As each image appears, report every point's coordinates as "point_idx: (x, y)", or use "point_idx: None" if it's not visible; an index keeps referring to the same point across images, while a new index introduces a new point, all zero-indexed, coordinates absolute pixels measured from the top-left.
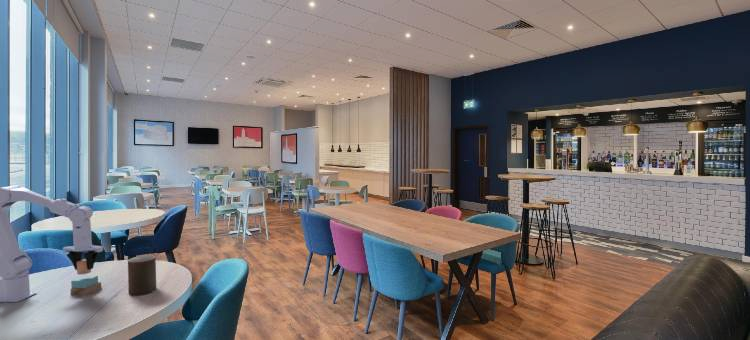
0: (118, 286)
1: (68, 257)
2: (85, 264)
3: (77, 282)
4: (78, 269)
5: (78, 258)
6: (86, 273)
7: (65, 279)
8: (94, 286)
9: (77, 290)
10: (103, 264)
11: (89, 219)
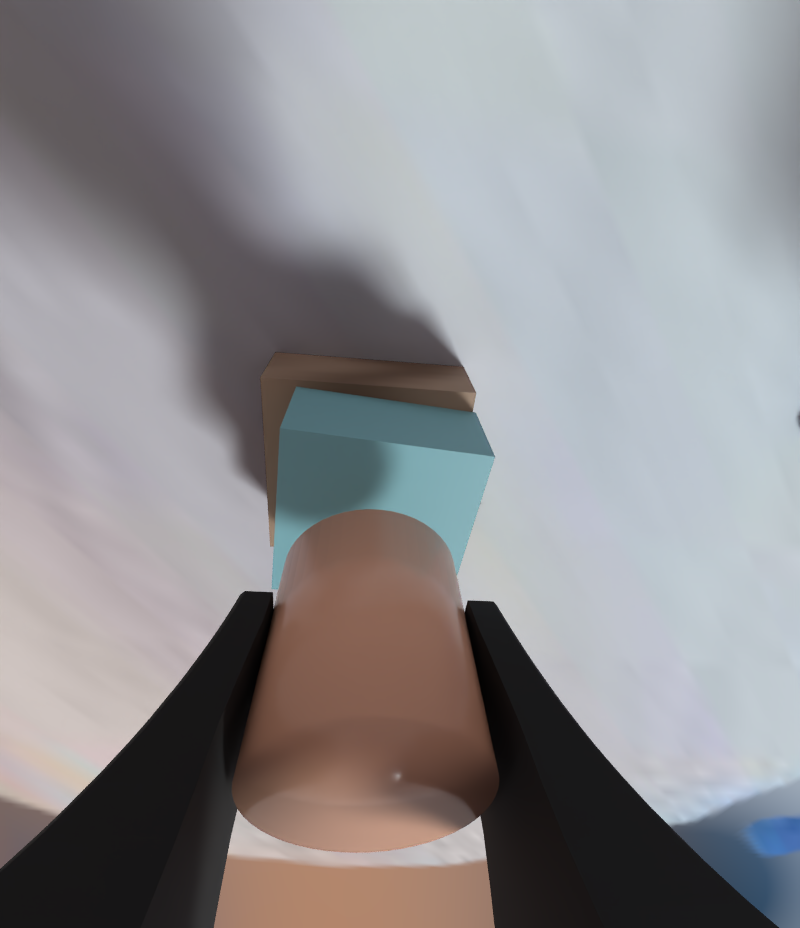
0: (143, 526)
1: (740, 897)
2: (272, 679)
3: (404, 435)
4: (400, 574)
5: (511, 861)
6: (298, 540)
7: (679, 666)
8: (268, 459)
9: (394, 379)
10: None
11: None
